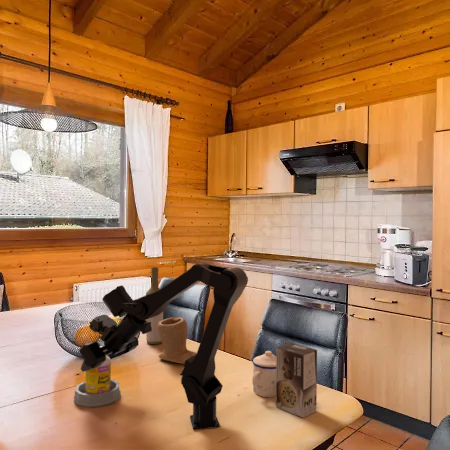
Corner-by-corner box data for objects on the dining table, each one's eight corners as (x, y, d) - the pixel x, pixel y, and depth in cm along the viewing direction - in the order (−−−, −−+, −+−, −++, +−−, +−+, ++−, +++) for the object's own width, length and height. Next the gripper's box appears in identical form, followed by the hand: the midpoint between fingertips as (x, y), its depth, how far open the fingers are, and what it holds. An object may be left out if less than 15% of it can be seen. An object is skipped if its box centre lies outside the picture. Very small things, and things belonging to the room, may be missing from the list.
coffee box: (317, 410, 110) (318, 349, 110) (303, 418, 106) (304, 355, 106) (289, 399, 117) (290, 341, 117) (274, 406, 112) (275, 346, 112)
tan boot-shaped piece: (150, 361, 146) (150, 318, 146) (173, 352, 156) (174, 312, 156) (182, 371, 137) (183, 325, 137) (205, 361, 147) (205, 318, 147)
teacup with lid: (263, 382, 129) (264, 344, 128) (289, 390, 123) (290, 351, 123) (240, 395, 119) (240, 354, 119) (267, 404, 114) (267, 361, 113)
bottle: (152, 339, 172) (152, 266, 172) (166, 341, 169) (167, 267, 169) (141, 343, 166) (142, 268, 166) (156, 346, 163) (157, 269, 162)
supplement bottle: (96, 401, 112) (97, 353, 112) (80, 396, 116) (80, 349, 115) (115, 393, 118) (116, 347, 118) (99, 387, 121) (99, 343, 121)
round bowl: (119, 405, 112) (119, 394, 112) (70, 409, 110) (70, 397, 109) (121, 386, 124) (121, 376, 124) (77, 389, 122) (77, 379, 122)
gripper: (130, 300, 123) (100, 333, 128) (85, 313, 106) (52, 351, 111) (152, 330, 120) (121, 363, 125) (110, 349, 103) (75, 386, 108)
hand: (93, 364), depth 117 cm, fingers open, 9 cm apart
